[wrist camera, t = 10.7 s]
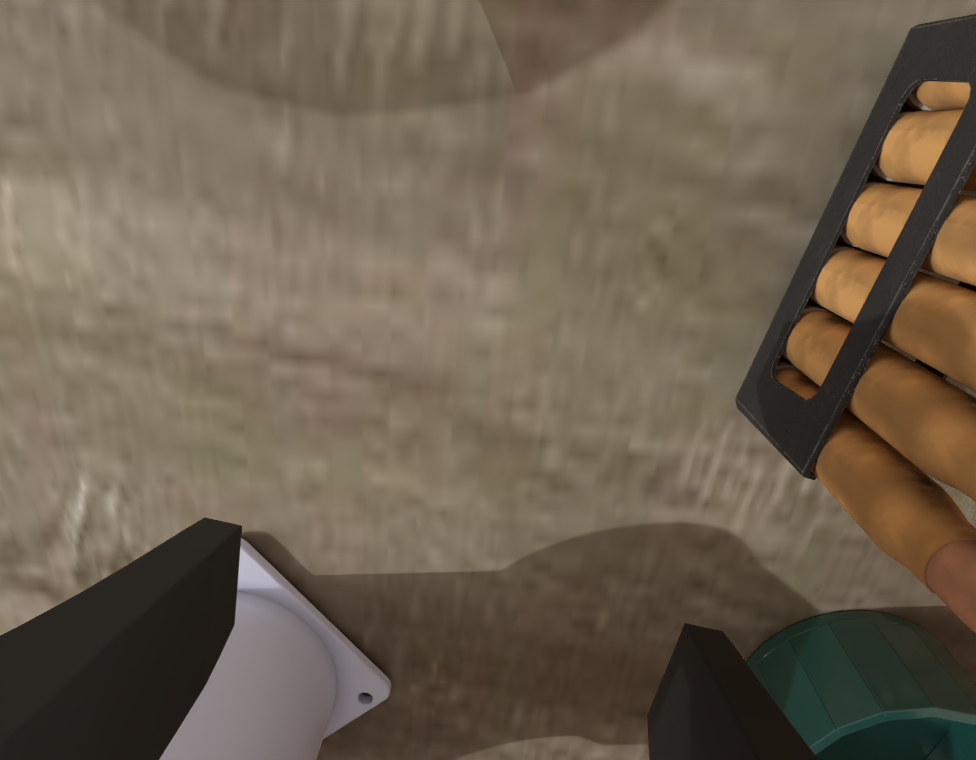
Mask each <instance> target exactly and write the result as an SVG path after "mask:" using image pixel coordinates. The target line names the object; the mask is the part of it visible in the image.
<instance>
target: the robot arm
mask: <svg viewBox="0 0 976 760" xmlns="http://www.w3.org/2000/svg"><path fill="white" fill-rule="evenodd" d="M241 533H242V526H241V525H236V524H232V523H227V522H222V521H218V520H213V519H209V518H203V519H202V520H200V521H198V522H197V523H195V524H193V525H192V526H190V527H188V528H186V529H185V530H183V531H182V532H180V533H178V534H177V535H175V536H173V537H172V538H170V539H169V540H167V541H165V542H164V543H162V544H161V545H159V546H157V547H156V548H154V549H153V550H151V551H149V552H148V553H146V554H144V555H143V556H141V557H140V558H138V559H136V560H135V561H133V562H132V563H130V564H128V565H127V566H125V567H123V568H122V569H120V570H118V571H117V572H115V573H113V574H111V575H110V576H108V577H106V578H105V579H103V580H101V581H100V582H98V583H96V584H95V585H93V586H91V587H90V588H88V589H86V590H85V591H83V592H81V593H79V594H78V595H76V596H74V597H72V598H70V599H68V600H67V601H65V602H63V603H61V604H59V605H57V606H56V607H54V608H52V609H50V610H48V611H46V612H44V613H43V614H41V615H39V616H37V617H35V618H33V619H32V620H30V621H28V622H26V623H24V624H22V625H21V626H19V627H17V628H15V629H13V630H11V631H9V632H7V633H5V634H3V635H1V636H0V760H316V759H317V756H318V753H319V750H320V747H321V744H322V741H323V739H324V738H326V737H327V736H329V735H331V734H332V733H334V732H335V731H337V730H338V729H340V728H342V727H343V726H345V725H346V724H348V723H350V722H351V721H353V720H354V719H356V718H357V717H359V716H361V715H362V714H364V713H365V712H367V711H369V710H370V709H372V708H373V707H375V706H376V705H378V704H380V703H381V702H383V701H384V700H386V699H387V698H388V697H389V694H390V691H391V686H392V685H391V681H390V680H389V678H388V677H387V676H386V675H385V674H384V673H383V672H382V671H381V670H380V669H379V668H377V667H376V666H375V665H374V664H373V663H372V662H371V661H370V660H369V659H368V658H367V657H366V656H365V655H364V654H363V653H362V652H361V651H360V650H359V649H358V648H357V647H356V646H355V645H354V644H353V643H352V642H351V641H350V640H348V639H347V638H346V637H345V636H344V635H343V634H342V633H341V632H340V631H339V630H338V629H337V628H336V627H335V626H334V625H333V624H332V623H331V622H330V621H329V620H328V619H327V618H326V617H325V616H324V615H323V614H322V613H320V612H319V611H318V610H317V609H316V608H315V607H314V606H313V605H312V604H311V603H310V602H309V601H308V600H307V599H306V598H305V597H304V596H303V595H302V594H301V593H300V592H299V591H298V590H297V589H296V588H295V587H294V586H293V585H291V584H290V583H289V582H288V581H287V580H286V579H285V578H284V577H283V576H282V575H281V574H280V573H279V572H278V571H277V570H276V569H275V568H274V567H273V566H272V565H271V564H270V563H269V562H268V561H267V560H266V559H265V558H264V557H262V556H261V555H260V554H259V553H258V552H257V551H256V550H255V549H254V548H253V547H252V546H251V545H250V544H249V543H248V542H247V541H245V540H244V539H242V538H241ZM362 693H368V694H370V696H366V695H364V694H362ZM648 738H649V758H650V760H819V759H818V758H817V757H816V755H815V754H814V753H813V751H812V750H811V749H810V748H809V746H808V745H807V744H806V743H805V741H804V740H803V739H802V737H801V736H800V735H799V733H798V732H797V731H796V729H795V728H794V727H793V726H792V724H791V723H790V722H789V720H788V719H787V718H786V716H785V715H784V714H783V712H782V711H781V710H780V708H779V707H778V706H777V704H776V703H775V701H774V700H773V699H772V697H771V696H770V695H769V693H768V692H767V691H766V689H765V688H764V686H763V685H762V684H761V682H760V681H759V680H758V678H757V677H756V676H755V674H754V673H753V671H752V670H751V669H750V667H749V666H748V665H747V663H746V662H745V660H744V659H743V658H742V656H741V655H740V654H739V652H738V651H737V650H736V648H735V647H734V646H733V644H732V643H731V642H730V640H729V639H728V638H727V637H726V635H725V634H724V633H723V631H718V630H714V629H709V628H704V627H700V626H695V625H691V624H686V623H685V624H684V627H683V629H682V632H681V634H680V637H679V639H678V642H677V644H676V647H675V649H674V652H673V654H672V656H671V659H670V661H669V664H668V666H667V669H666V671H665V674H664V676H663V679H662V681H661V684H660V686H659V688H658V691H657V693H656V696H655V698H654V701H653V703H652V706H651V708H650V711H649V713H648Z"/></svg>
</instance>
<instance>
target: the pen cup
mask: <svg viewBox="0 0 976 760" xmlns="http://www.w3.org/2000/svg"><path fill="white" fill-rule="evenodd" d="M746 663H747V665H748V666H749V667H750V669H751V670H752V671H753V673H754V674H755V676H756V677H757V678H758V680H759V681H760V682H761V684H762V685H763V686H764V688H765V689H766V691H767V692H768V693H769V695H770V696H771V697H772V699H773V700H774V701H775V703H776V704H777V706H778V707H779V708H780V710H781V711H782V712H783V714H784V715H785V716H786V718H787V719H788V720H789V722H790V723H791V724H792V726H793V727H794V728H795V729H796V731H797V732H798V733H799V735H800V736H801V737H802V739H803V740H804V741H805V743H806V744H807V745H808V746H809V748H810V749H811V750H812V751H813V753H814V754H815V755H816V757H817V758H818V759H819V760H976V684H975V682H974V681H973V680H972V679H971V678H970V676H969V675H968V674H967V673H966V671H965V670H964V669H963V668H962V667H961V665H960V664H959V663H958V662H957V661H956V659H955V658H954V657H953V656H952V655H951V653H950V652H949V651H948V650H947V649H946V647H945V646H944V645H942V644H941V643H940V642H939V641H938V640H937V639H936V638H935V637H934V636H933V635H932V634H931V633H929V632H928V631H926V630H925V629H923V628H922V627H920V626H918V625H916V624H914V623H912V622H910V621H908V620H906V619H903V618H900V617H897V616H894V615H890V614H885V613H880V612H871V611H843V612H835V613H829V614H825V615H820V616H816V617H813V618H810V619H807V620H804V621H801V622H799V623H797V624H795V625H792V626H790V627H788V628H786V629H785V630H783V631H781V632H780V633H778V634H776V635H775V636H773V637H772V638H771V639H769V640H768V641H767V642H765V643H764V644H763V645H762V646H761V647H760V648H759V649H758V650H756V651H755V652H754V653H753V655H752V656H751V657H750V658H749V660H748V661H747V662H746Z"/></svg>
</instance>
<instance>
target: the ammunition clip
mask: <svg viewBox="0 0 976 760" xmlns="http://www.w3.org/2000/svg"><path fill="white" fill-rule="evenodd" d="M961 190H970V191H976V14H974V15H969V16H963V17H958V18H952V19H947V20H941V21H936V22H930V23H925V24H919V25H917V26H914V27H913V28H911V29H910V31H909V34H908V36H907V38H906V40H905V42H904V44H903V46H902V48H901V50H900V53H899V55H898V57H897V59H896V61H895V63H894V65H893V67H892V69H891V72H890V74H889V76H888V78H887V80H886V82H885V84H884V86H883V88H882V91H881V93H880V95H879V97H878V99H877V101H876V103H875V105H874V107H873V110H872V112H871V114H870V116H869V118H868V120H867V122H866V124H865V126H864V129H863V131H862V133H861V135H860V137H859V139H858V141H857V143H856V145H855V148H854V150H853V152H852V154H851V156H850V158H849V160H848V162H847V164H846V167H845V169H844V171H843V173H842V175H841V177H840V179H839V181H838V183H837V186H836V188H835V190H834V192H833V194H832V196H831V198H830V200H829V202H828V205H827V207H826V209H825V211H824V213H823V215H822V217H821V219H820V221H819V224H818V226H817V228H816V230H815V232H814V234H813V236H812V238H811V240H810V243H809V245H808V247H807V249H806V251H805V253H804V255H803V257H802V259H801V262H800V264H799V266H798V268H797V270H796V272H795V274H794V276H793V278H792V281H791V283H790V285H789V287H788V289H787V291H786V293H785V295H784V297H783V300H782V302H781V304H780V306H779V308H778V310H777V312H776V314H775V316H774V319H773V321H772V323H771V325H770V327H769V329H768V331H767V333H766V335H765V338H764V340H763V342H762V344H761V346H760V348H759V350H758V352H757V354H756V357H755V359H754V361H753V363H752V365H751V367H750V369H749V371H748V373H747V376H746V378H745V380H744V382H743V384H742V386H741V388H740V390H739V393H738V395H737V397H736V405H737V408H738V409H739V410H740V411H741V412H742V413H743V414H744V415H745V416H746V417H747V419H748V420H749V421H750V422H751V423H752V424H753V425H754V426H755V427H756V428H757V429H758V430H759V431H760V432H761V433H762V434H763V435H764V436H765V437H766V438H767V439H768V440H769V441H770V443H771V444H772V445H773V446H774V447H775V448H776V449H777V450H778V451H779V452H780V453H781V454H782V455H783V456H784V457H785V458H786V459H787V460H788V461H789V462H790V463H791V464H792V465H793V467H794V468H795V469H796V470H797V471H798V472H799V473H800V474H801V475H802V476H804V477H806V478H809V479H812V480H815V479H816V478H818V479H819V480H820V481H821V483H822V484H823V485H824V486H825V487H826V488H827V489H828V491H829V492H830V493H831V494H832V495H833V496H834V497H835V498H836V500H837V501H838V502H839V503H840V504H841V505H842V506H843V508H844V509H845V510H846V511H847V512H848V513H849V514H850V515H851V517H852V518H853V519H854V520H855V521H856V522H857V523H858V525H859V526H860V527H861V528H862V529H863V530H864V531H865V532H866V534H867V535H868V536H869V537H870V538H871V539H872V540H873V542H874V543H875V544H876V545H877V546H878V547H879V548H880V549H881V550H882V551H884V552H885V553H886V554H888V555H889V556H890V557H892V558H893V559H895V560H896V561H898V562H899V563H901V564H902V565H904V566H905V567H907V568H908V569H909V570H910V571H911V572H912V573H913V574H914V575H915V576H916V577H917V578H918V579H919V580H920V581H921V582H922V583H923V584H924V585H925V586H926V587H927V588H928V589H929V590H930V591H931V592H933V593H935V594H937V596H938V597H939V598H940V599H941V600H942V601H943V602H944V603H945V604H946V605H947V606H948V607H949V608H950V609H951V610H952V612H953V613H954V614H955V615H956V616H957V617H958V618H959V619H960V620H961V621H962V622H963V623H964V624H966V625H967V626H968V627H969V628H970V629H971V630H972V631H973V632H975V633H976V529H975V528H974V527H973V526H972V525H971V524H970V523H969V522H968V520H967V519H966V517H965V516H964V514H963V513H962V511H961V510H960V509H959V507H958V506H957V505H956V503H955V502H954V501H953V499H952V498H951V497H950V496H949V494H948V493H947V492H946V491H945V490H944V489H943V488H942V487H940V486H939V485H938V484H937V483H936V482H935V481H933V480H932V479H931V478H930V477H929V476H931V477H933V478H935V479H937V480H939V481H941V482H943V483H945V484H947V485H949V486H951V487H953V488H956V489H958V490H960V491H962V492H963V493H964V494H966V495H967V496H969V497H970V498H971V499H973V500H974V501H976V398H975V397H973V396H971V395H969V394H968V393H966V392H964V391H963V390H961V389H959V388H958V387H956V386H954V385H953V384H951V383H949V382H947V381H946V380H945V379H946V378H947V376H949V377H951V378H953V379H955V380H956V381H958V382H960V383H962V384H964V385H965V386H967V387H969V388H971V389H973V390H974V391H976V197H972V196H965V195H959V194H960V192H961ZM920 268H922V269H925V270H928V271H931V272H934V273H937V274H940V275H943V276H946V277H949V278H952V279H955V280H959V281H960V283H959V284H958V285H956V284H953V283H950V282H947V281H944V280H942V279H939V278H936V277H933V276H930V275H928V274H925V273H922V272H919V269H920ZM881 340H884V341H886V342H888V343H890V344H891V345H893V346H895V347H897V348H899V349H900V350H902V351H904V352H906V353H908V354H909V355H911V356H913V357H915V358H917V359H916V361H915V362H914V361H912V360H910V359H909V358H907V357H905V356H903V355H902V354H900V353H898V352H897V351H895V350H893V349H892V348H890V347H888V346H886V345H885V344H883V343H881V342H880V341H881ZM920 469H921V470H920ZM924 472H925V473H926V474H928V475H929V476H928V475H926V474H925V473H924Z"/></svg>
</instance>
